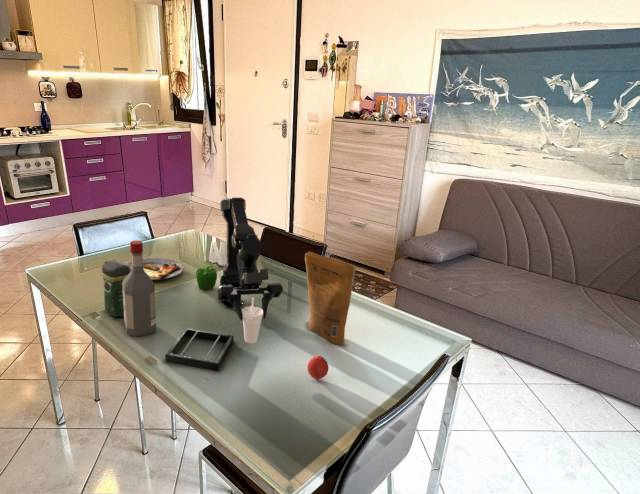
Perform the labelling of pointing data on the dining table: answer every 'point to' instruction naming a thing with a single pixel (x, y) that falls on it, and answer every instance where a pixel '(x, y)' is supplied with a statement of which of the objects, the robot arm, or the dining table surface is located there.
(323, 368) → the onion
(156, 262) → the food plate
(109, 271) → the coffee jar
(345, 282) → the pancake mix bag
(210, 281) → the bell pepper
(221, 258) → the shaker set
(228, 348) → the divided serving tray
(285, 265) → the dining table surface
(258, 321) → the smoothie
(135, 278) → the liquor
